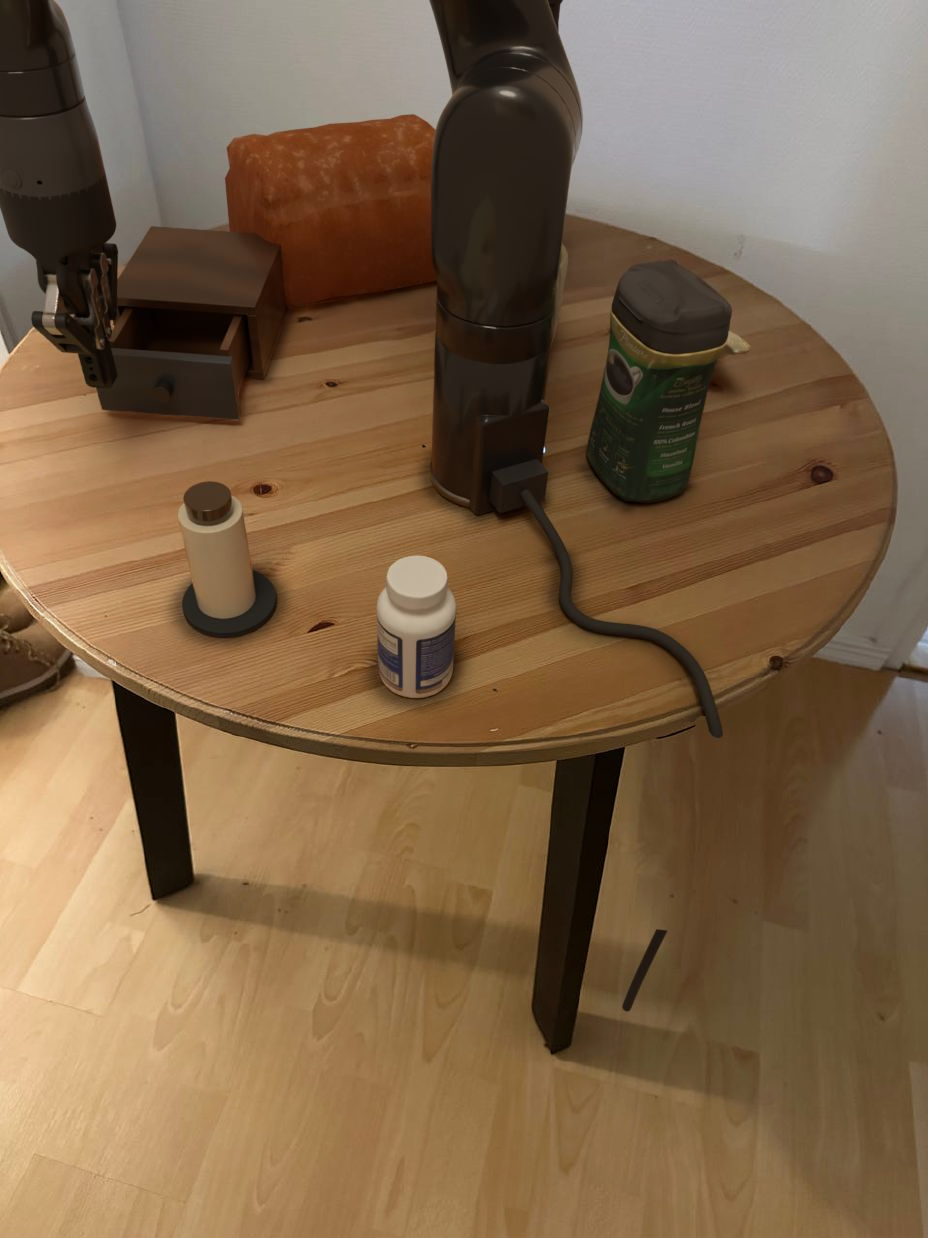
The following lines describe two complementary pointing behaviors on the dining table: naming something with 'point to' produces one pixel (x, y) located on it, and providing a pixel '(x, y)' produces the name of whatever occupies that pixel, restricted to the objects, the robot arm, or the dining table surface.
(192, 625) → the coaster
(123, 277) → the cabinet
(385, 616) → the pill bottle
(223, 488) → the cream bottle
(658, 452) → the coffee jar
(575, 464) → the dining table surface
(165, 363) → the drawer
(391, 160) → the bread
